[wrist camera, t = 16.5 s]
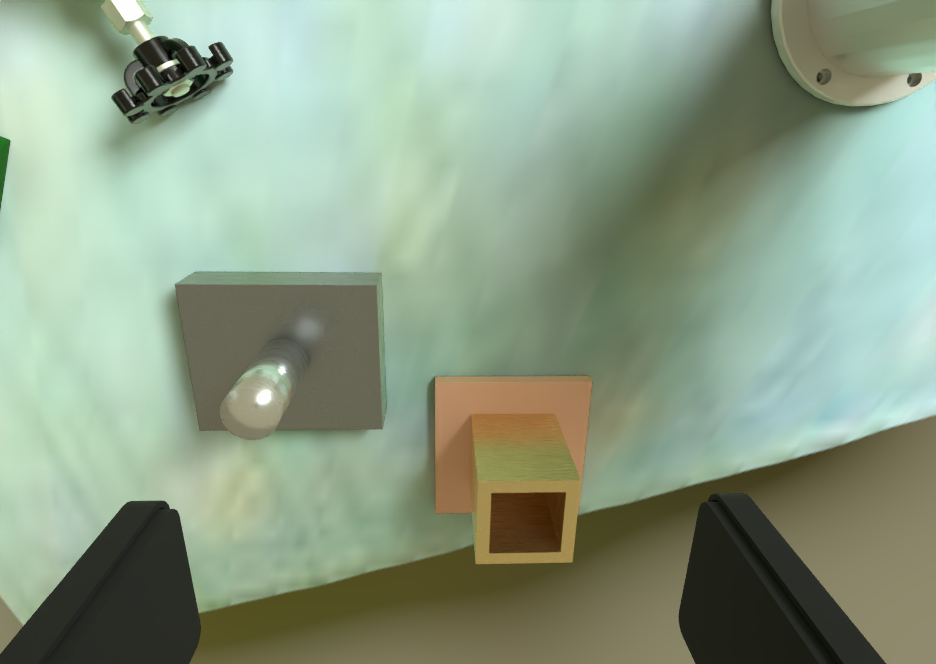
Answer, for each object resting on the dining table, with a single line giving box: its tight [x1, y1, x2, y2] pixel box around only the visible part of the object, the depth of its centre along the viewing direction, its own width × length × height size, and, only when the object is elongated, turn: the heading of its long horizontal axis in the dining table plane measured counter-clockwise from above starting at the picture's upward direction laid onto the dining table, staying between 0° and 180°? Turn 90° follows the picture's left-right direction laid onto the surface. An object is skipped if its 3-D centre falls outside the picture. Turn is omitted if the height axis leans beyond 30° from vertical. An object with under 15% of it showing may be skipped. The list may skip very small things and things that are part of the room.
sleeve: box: [470, 414, 581, 564], centre depth 37 cm, size 6×6×8 cm
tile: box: [435, 376, 592, 514], centre depth 42 cm, size 11×11×1 cm
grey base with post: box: [175, 272, 387, 440], centre depth 34 cm, size 12×10×10 cm
